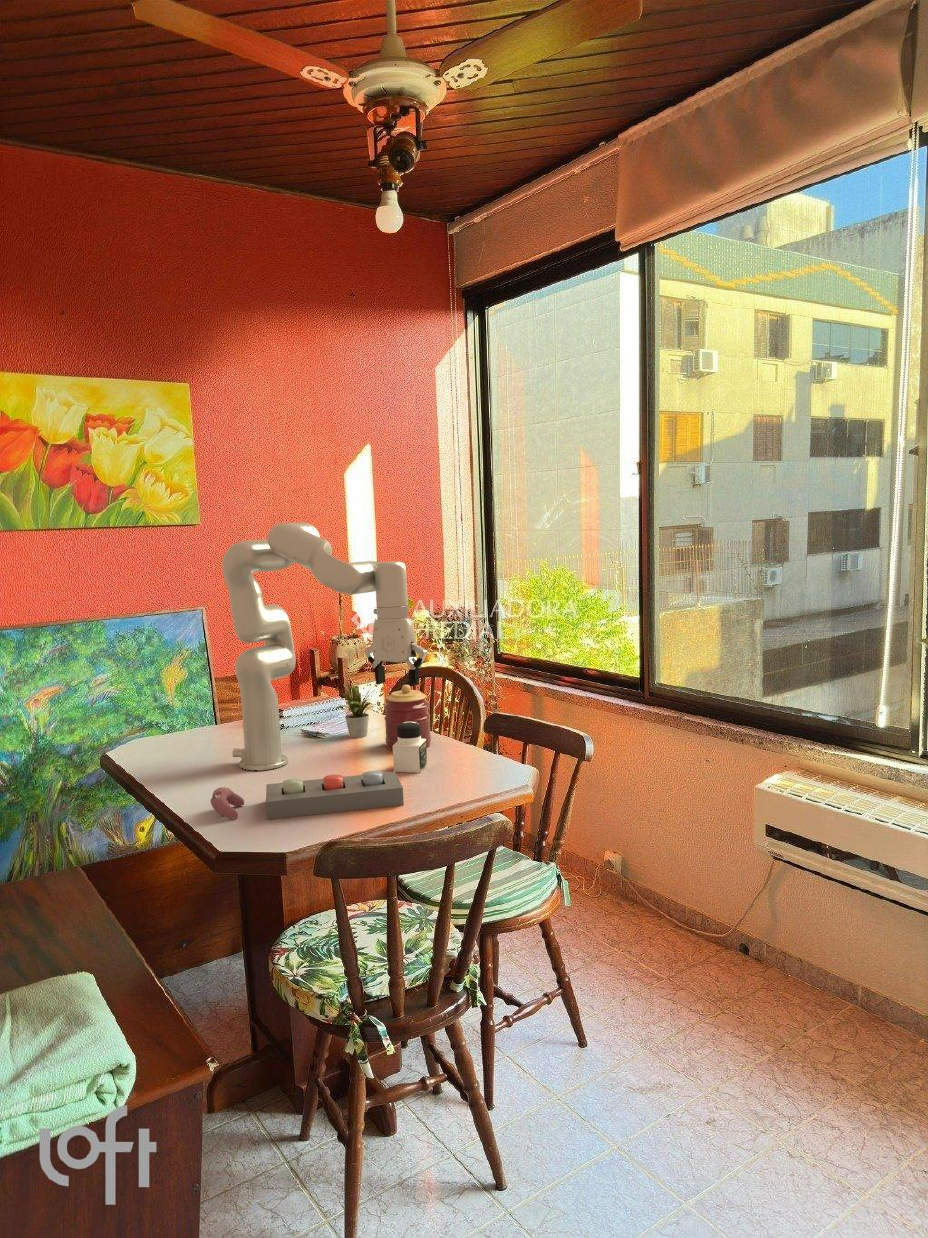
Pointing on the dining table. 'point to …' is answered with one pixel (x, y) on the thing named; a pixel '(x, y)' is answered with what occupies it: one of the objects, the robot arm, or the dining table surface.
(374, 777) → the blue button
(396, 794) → the button panel
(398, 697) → the canister
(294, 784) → the green button
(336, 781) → the red button
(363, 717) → the house plant
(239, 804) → the video game controller
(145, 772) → the dining table surface
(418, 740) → the medicine bottle
